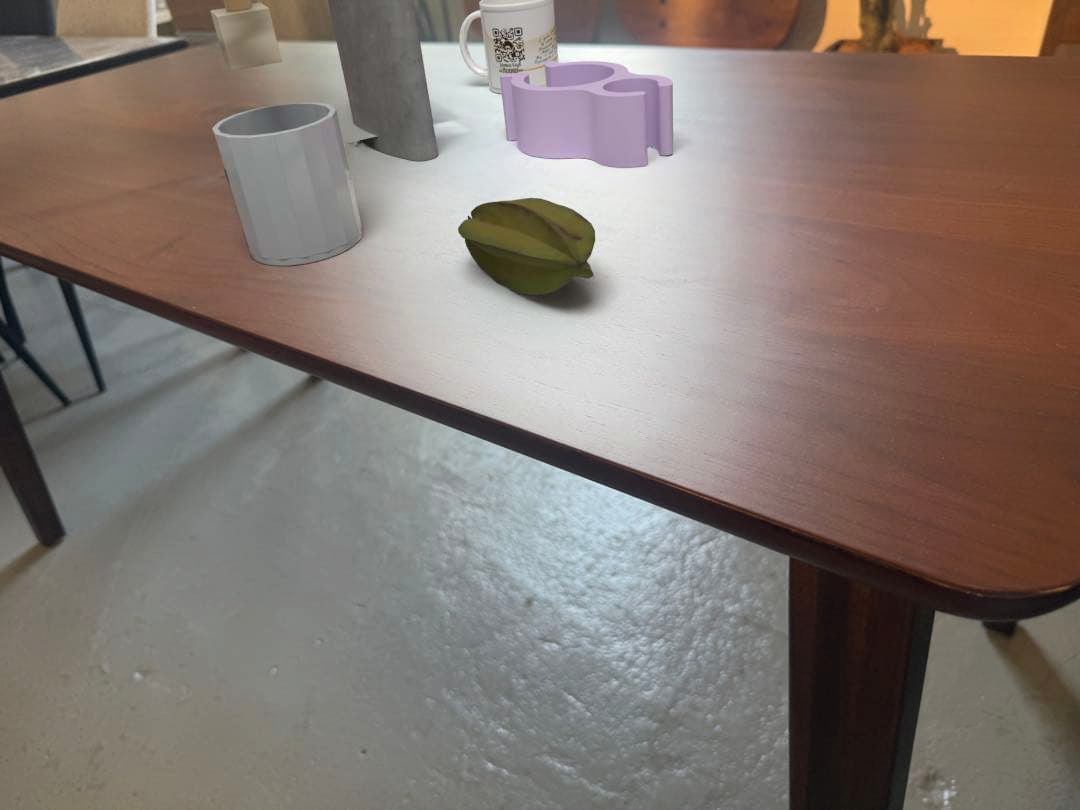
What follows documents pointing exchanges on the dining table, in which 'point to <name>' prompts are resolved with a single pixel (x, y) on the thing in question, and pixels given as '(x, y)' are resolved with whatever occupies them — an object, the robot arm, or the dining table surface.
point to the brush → (246, 34)
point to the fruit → (529, 244)
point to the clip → (590, 113)
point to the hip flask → (385, 75)
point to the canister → (290, 182)
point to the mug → (513, 39)
